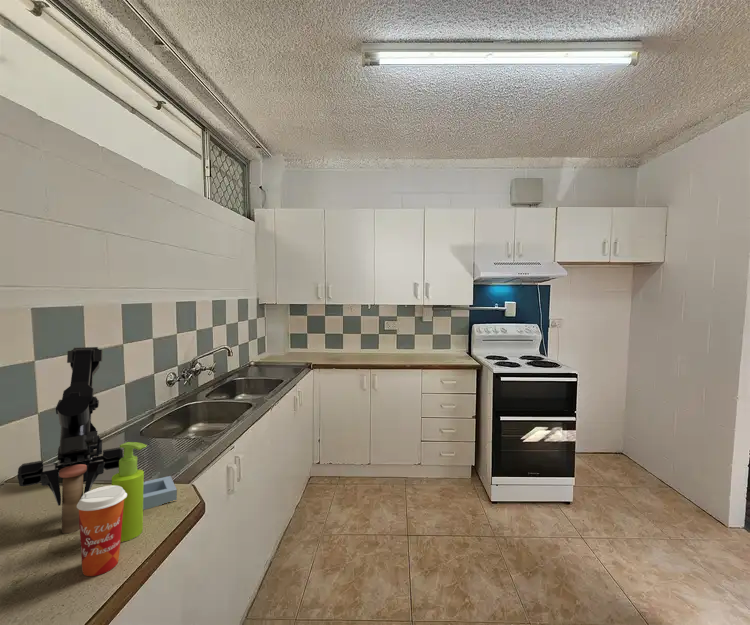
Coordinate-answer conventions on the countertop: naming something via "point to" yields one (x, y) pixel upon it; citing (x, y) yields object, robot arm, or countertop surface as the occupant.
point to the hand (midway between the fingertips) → (72, 501)
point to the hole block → (158, 492)
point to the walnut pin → (71, 496)
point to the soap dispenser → (131, 491)
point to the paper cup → (101, 528)
